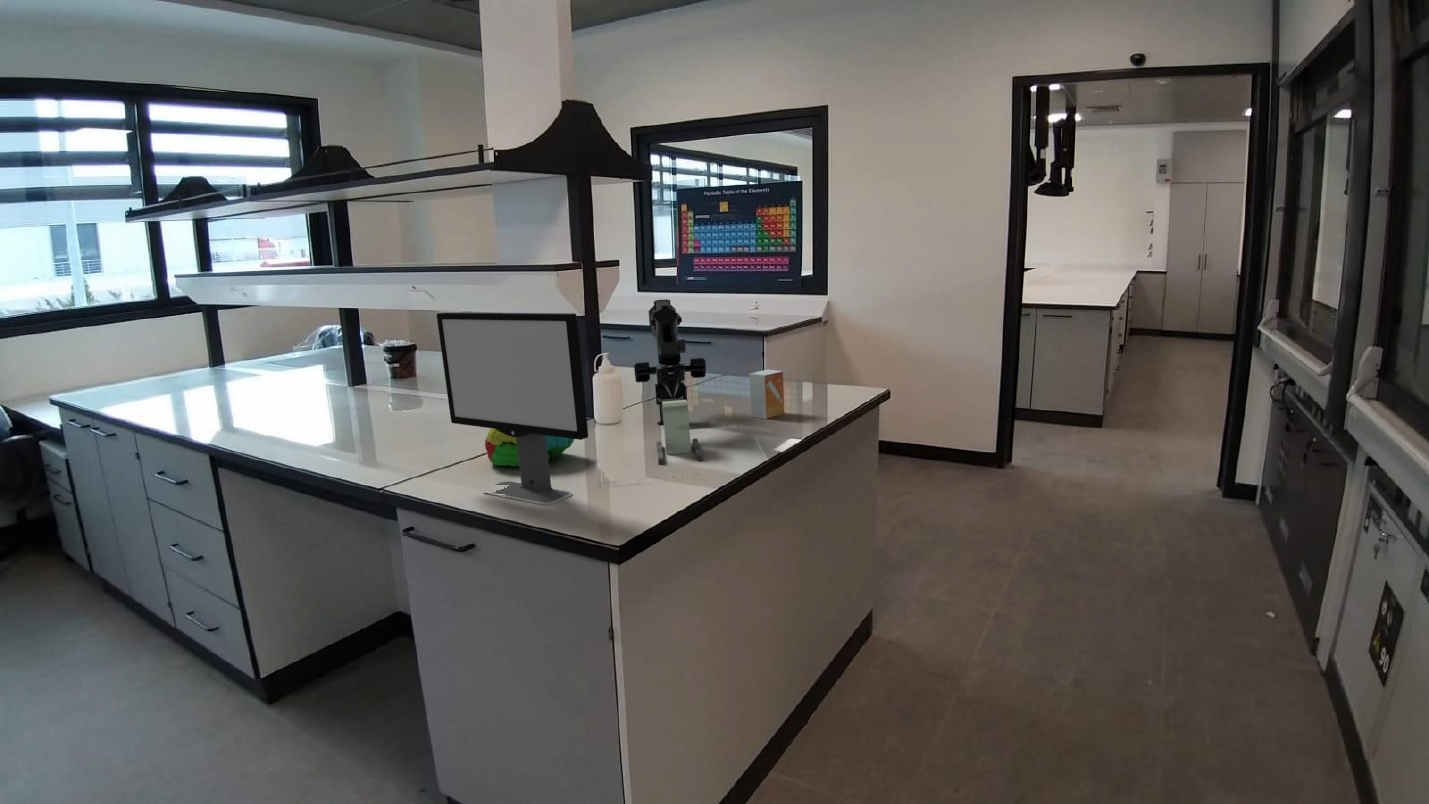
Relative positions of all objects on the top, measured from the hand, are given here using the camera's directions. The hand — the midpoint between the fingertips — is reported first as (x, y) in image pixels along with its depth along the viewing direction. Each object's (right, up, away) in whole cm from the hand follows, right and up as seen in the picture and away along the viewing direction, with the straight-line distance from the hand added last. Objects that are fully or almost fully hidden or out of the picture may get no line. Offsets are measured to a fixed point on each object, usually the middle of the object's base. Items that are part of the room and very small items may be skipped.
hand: (672, 396), depth 202 cm
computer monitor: (-31, -22, -29) cm, 47 cm away
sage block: (+2, -13, -7) cm, 15 cm away
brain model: (-35, -17, -3) cm, 39 cm away
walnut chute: (+2, -15, -10) cm, 18 cm away
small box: (+27, -6, +29) cm, 40 cm away
